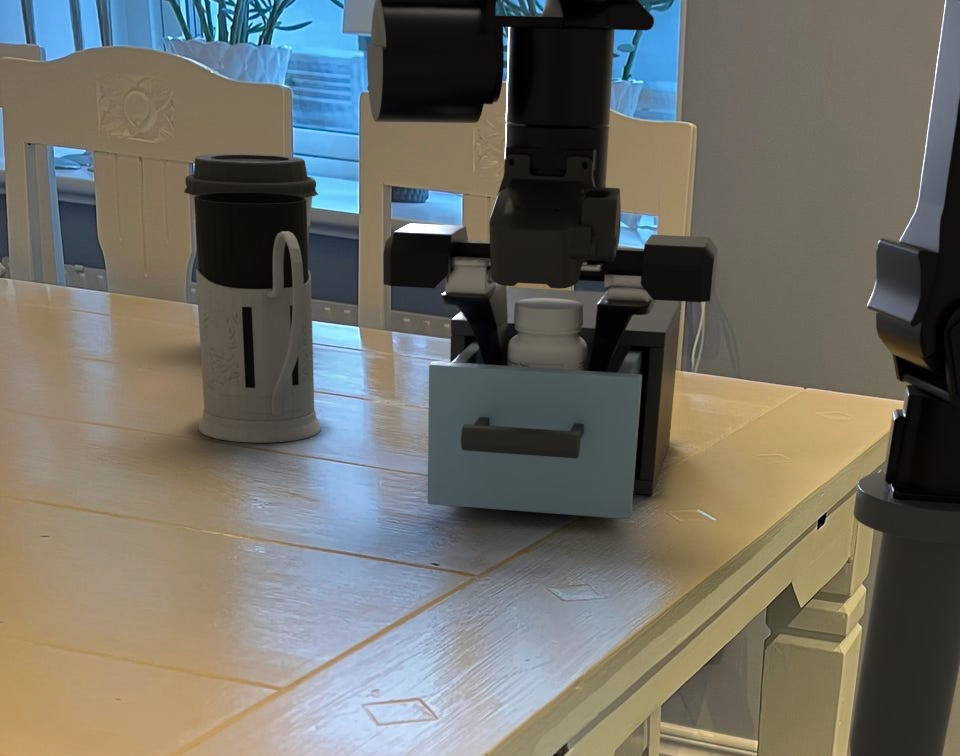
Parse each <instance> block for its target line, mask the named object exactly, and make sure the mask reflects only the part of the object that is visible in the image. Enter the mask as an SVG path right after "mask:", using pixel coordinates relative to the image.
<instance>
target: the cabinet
mask: <svg viewBox="0 0 960 756" xmlns="http://www.w3.org/2000/svg"><path fill="white" fill-rule="evenodd" d="M506 291H507V317H508V338H511V339H512V338H513V337H514V336H516V335H518V330H516V329H515V324H514V311H515V303H516V302H517V301H520V300H525V299H535V298H553V299H566V300H573V301H577V302H580V303H582V305H583V326H582V331H581V332H578V336H579V337H581V338H582V339H583V340H584V341H585V342H586V343H593V338H594V333H595V324H596V314H597V304H598V303H599V302H600V300H601V299H602V298H603V296H604V295H605V294H606V292H607V291H606V292H603V291H589V290H587V291H585V290H569V289H554V288H535V287H533V288H532V287H515V286H506ZM682 302H683V301H667V300H656V302H655V304H654V306H653V308H652V309H651V311H650V313H649V314H646V315H632V317H631V319H630V321H629V323H628V325H627V327H626V329H625V331H624V333H623V335H622V337H621V339H620V342H619V344H618V345H627V346H643V347H646V356H645V369H644V382H643V395H642V408H641V421H640V434H639V446H638V458H637V461H636V463H635V476H634V489H633V495H645V496H652V495H653V494H654V490H655V488H656V484H657V482H658V479H659V475H660V473H661V469H662V466H663V463H664V460H665V457H666V454H667V451H668V448H669V444H670V441H671V428H672V416H673V406H674V393H675V382H676V370H677V360H678V348H679V338H680V325H681V315H682V312H681V311H682V305H683V304H682ZM475 340H476V339H475V336H474V334H473V331H472V329H471V327H470V325H469V323H468V321H467V320H466V318H465V316H464V315H463V313H462V312H461V311H460V312H458V314H456V315H455V316H454V317H452V318H451V319H450V353H449V355H450V356H449V362H453V361H454V360H455V359H456V358H457V357H458V356H459V355H460V354H461V353H462V352H463V351H464V350H465V349H466V348H467V347H468V346H469V345H470V344H471V343H472V342H474V341H475Z"/></svg>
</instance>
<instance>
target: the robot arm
mask: <svg viewBox="0 0 960 756" xmlns="http://www.w3.org/2000/svg"><path fill="white" fill-rule="evenodd" d="M497 1H498V0H375V2H374V5H373V10H372V16H371V17H372V18H371V30H370V44H369V43H368V44H367V46H366V70H367V72H366V73H367V88H368V89H367V90H368V96H369V97H368V99H369V100H368V101H369V106H370V111H371V116H372V118H373V121H374V122H375V123H377V122H378V123H379V122H380V123H387V122H388V123H441V124H442V123H445V124H446V123H447V124H450V123H453V124H457V123H458V124H477V123H478V122H479V121H480V118H481V116H482V113H483V109H484V105H493V104H494V103H497V102H498V101H499V99H500V97H501V92H502V87H503V80H504V68H505V67H504V66H505V65H504V61H505V59H504V58H505V53H504V51H505V50H504V28H508V33H507V34H508V37H507V67H506V68H507V70H506V72H507V75H506V77H507V78H506V102H505V103H506V104H505V105H506V107H505V108H506V109H505V110H506V111H505V122H506V123H505V142H504V143H505V145H504V163H503V165H504V166H503V167H504V168H503V177H502V179H501V183H500V185H499V189H498V192H497V195H496V198H495V201H494V205H493V208H492V211H491V214H490V217H489V220H488V227H489V241H487V240H469V237H468V230H467V226H466V225H455V224H454V225H453V224H435V223H434V224H432V223H412V222H411V223H408V224H406V225H404V226H402V227H400V228H399V229H396V230H394V231H393V232H392V233H391V234H390V236H389V237H388V238H387V239H386V240H385V241H384V242H385V243H384V248H383V252H382V253H383V254H382V265H383V266H382V267H383V274H382V275H383V279H382V280H383V285H385V286H389V287H399V288H400V287H401V288H403V287H404V288H419V289H421V288H423V289H436V288H437V287H438V286H440V284H441V283H442V282H443V281H445V285H444V286H445V288H444V289H445V290H444V292H443V293H441V295H440V296H441V301H442V304H444V305H448V306H456V307H457V308H458V309H459V310H460V312H462V313H463V315H464V316H465V318H466V320H467V321H468V323H469V325H470V327H471V329H472V331H473V334H474V336H475V339H476V341H477V343H478V346H479V349H480V352H481V355H482V358H483V360H484V364H486V365H502V366H507V353H508V344H509V343H508V317H507V291H506V287H515V286H516V285H517V284H534V285H536V284H537V285H546V286H548V287H549V289H557V290H561V289H569V288H571V287H573V286H575V285H576V284H578V282H579V281H581V282H582V281H584V282H600V283H601V282H602V283H603V289H605V290H607V291H606V294H605V295H604V296H603V298H602V299H601V300H600V302H599V303H598V304H597V314H596V324H595V333H594V338H593V344H592V350H591V356H590V362H589V368H588V371H597V372H608V370H609V367H610V364H611V361H612V359H613V356H614V353H615V351H616V348H617V346H618V344H619V342H620V339H621V337H622V335H623V333H624V331H625V329H626V327H627V325H628V323H629V321H630V319H631V317H632V315H646V314H649V313H650V311H651V309H652V308H653V306H654V304H655V302H656V300H667V301H682V302H687V303H706V302H711V299H712V297H713V294H714V291H715V287H716V276H717V265H718V251H719V248H718V247H717V246H716V244H715V243H714V241H713V240H712V238H710V237H709V236H692V235H691V236H688V235H687V236H686V235H669V234H650V236H649V237H648V239H647V240H646V241H645V242H644V247H643V248H633V247H631V248H630V247H619V244H620V239H621V237H620V236H621V221H622V220H621V219H622V209H621V208H622V207H621V189H620V188H619V187H607V186H606V185H607V171H608V170H607V169H608V154H609V137H610V136H609V134H610V126H609V125H610V118H611V117H610V116H611V99H612V97H611V96H612V81H613V65H614V46H615V31H649V30H651V29H652V28H653V27H654V24H655V18H654V15H652V14H651V13H650V11H648V9H646V8H645V6H644V5H643V4H642V3H641V1H640V0H546V1H545V3H544V6H543V10H542V13H541V15H540V16H539V15H535V16H534V15H503V14H501V15H499V14H497V15H496V8H497V7H496V6H497ZM938 45H939V46H938V54H937V60H936V67H935V75H934V81H933V88H932V89H933V90H932V97H931V104H930V111H929V118H928V126H927V133H926V141H925V147H924V154H923V155H924V156H923V163H922V168H921V169H922V170H921V178H920V184H919V192H918V200H917V203H916V208H915V210H914V213H913V215H912V217H911V218H910V220H909V222H908V224H907V225H906V228H905V229H904V232H903V234H902V235H901V237H900V239H899V240H895V239H894V240H893V239H888V238H884V237H883V238H880V239H879V240H878V241H877V246H876V251H875V267H876V269H875V271H876V274H875V283H874V287H873V291H872V293H871V296H870V298H869V300H868V301H867V305H866V308H867V309H868V310H870V311H873V312H875V329H876V332H877V333H876V334H877V336H878V338H879V339H880V340H881V342H882V343H883V345H884V346H885V347H886V348H887V350H888V352H890V353H892V359H893V365H894V371H895V377H896V380H898V382H899V381H900V382H902V383H906V384H907V385H906V386H905V392H904V399H903V405H902V409H900V408H896V409H895V410H894V411H893V412H892V415H891V422H890V427H889V434H888V439H887V447H886V452H885V453H886V454H885V460H884V467H883V472H884V478H885V481H886V482H887V484H890V488H891V494H892V497H893V498H895V499H902V500H916V501H930V502H944V503H958V504H960V0H945V1H944V8H943V16H942V23H941V30H940V39H939V44H938Z"/></svg>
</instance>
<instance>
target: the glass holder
mask: <svg viewBox="0 0 960 756" xmlns="http://www.w3.org/2000/svg"><path fill="white" fill-rule="evenodd" d="M194 201H195V217H194V219H195V218H196V223H195V232H196V233H195V234H196V249H197V251H196V252H197V267H198V268H195V278H196V279H195V280H196V294H197V295H196V296H197V297H196V298H197V312H198V313H197V314H198V330H199V345H200V359H201V360H200V361H201V363H200V364H201V377H202V378H201V379H202V396H203V411H202V417H201V419H200V421H199V425H198V431H199V432H200V433H201V434H203V435H204V436H207V437H210V438H213V439H217V440H223V441H228V442H236V443H254V444H256V443H258V444H259V443H260V444H261V443H263V444H264V443H265V444H266V443H282V442H291V441H292V442H293V441H298V440H305V439H308V438H312V437H314V436H316V435H318V434H319V433H320V432H321V431H322V426H321V423H320V421H319V419H318V417H317V414H316V409H315V386H314V385H315V382H314V381H315V380H314V346H313V344H314V342H313V340H314V339H313V337H314V336H313V304H312V275H311V271H310V269H309V240H308V241H307V202H306V198H304V197H301V196H296V195H289V194H279V193H263V192H220V193H207V194H200V195H197V196H195V197H194Z"/></svg>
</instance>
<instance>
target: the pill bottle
mask: <svg viewBox="0 0 960 756" xmlns="http://www.w3.org/2000/svg"><path fill="white" fill-rule="evenodd" d="M514 324H515V329H516V330H518V335H516V336H514V337H513V338H512V339H511V340H510V342H509V344H508V353H507V366H517V367H533V368H549V369H565V370H581V371H586V369H587V345H586V342H585V341H584V340H583V339H582V338H581V337H579V336H578V332H581V331H582V326H583V305H582V303H580V302H577V301H573V300H566V299H553V298H535V299H525V300H520V301H517V302H516V303H515V311H514Z"/></svg>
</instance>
